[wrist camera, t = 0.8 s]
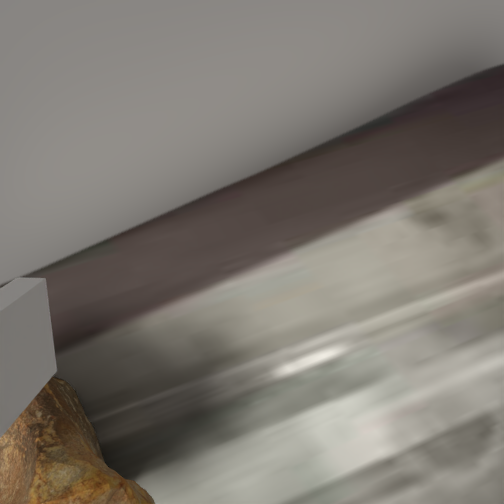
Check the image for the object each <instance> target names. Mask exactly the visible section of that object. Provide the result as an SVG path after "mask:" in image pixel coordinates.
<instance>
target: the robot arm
mask: <svg viewBox="0 0 504 504" xmlns="http://www.w3.org/2000/svg"><path fill="white" fill-rule="evenodd" d="M56 372H57V366H56V358H55V350H54V342H53V334H52V326H51V318H50V310H49V302H48V294H47V286H46V278H16V279H14V280H13V281H11V282H10V283H8V284H7V285H5V286H4V287H2V288H1V289H0V438H1V437H2V436H3V434H4V433H5V432H6V431H7V430H8V428H9V427H10V426H11V425H12V424H13V423H14V421H15V420H16V419H17V418H18V417H19V415H20V414H21V413H22V412H23V411H24V410H25V408H26V407H27V406H28V405H29V404H30V402H31V401H32V400H33V399H34V398H35V396H36V395H37V394H38V393H39V392H40V391H41V389H42V388H43V387H44V386H45V385H46V383H47V382H48V381H49V380H50V379H51V377H52V376H53V375H54V374H55V373H56Z"/></svg>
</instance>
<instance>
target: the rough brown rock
mask: <svg viewBox="0 0 504 504" xmlns="http://www.w3.org/2000/svg"><path fill="white" fill-rule="evenodd" d="M0 504H155V503H154V500H153V498H152V497H151V496H150V495H149V494H148V493H147V491H146V490H144V489H143V488H141V487H140V486H139V485H138V484H137V483H136V482H135V481H132V480H128V479H124V478H123V477H122V476H120V475H119V474H118V473H117V472H116V471H114V470H112V469H110V468H109V467H108V466H107V465H106V464H105V462H104V459H103V456H102V454H101V450H100V446H99V442H98V439H97V436H96V434H95V432H94V429H93V426H92V424H91V423H90V421H89V420H88V419H87V417H86V415H85V413H84V410H83V407H82V405H81V403H80V401H79V399H78V397H77V394H76V392H75V390H74V389H73V388H72V387H71V386H70V385H69V384H68V383H67V382H66V381H64V380H61V379H58V378H55V377H53V376H52V377H51V379H50V380H49V381H48V382H47V383H46V385H45V386H44V387H43V388H42V389H41V391H40V392H39V393H38V394H37V395H36V396H35V398H34V399H33V400H32V401H31V402H30V404H29V405H28V406H27V407H26V408H25V410H24V411H23V412H22V413H21V414H20V415H19V417H18V418H17V419H16V420H15V421H14V423H13V424H12V425H11V426H10V427H9V428H8V430H7V431H6V432H5V433H4V434H3V436H2V437H1V438H0Z"/></svg>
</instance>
